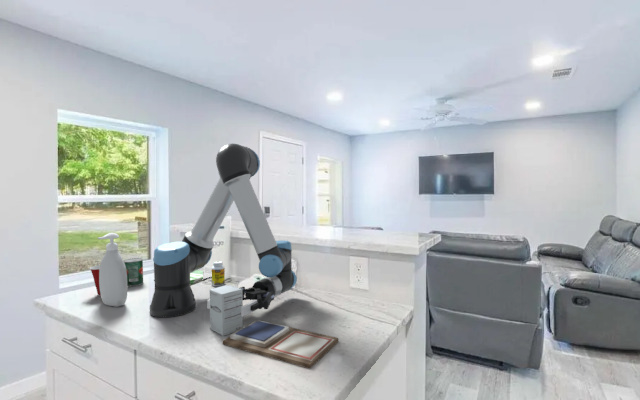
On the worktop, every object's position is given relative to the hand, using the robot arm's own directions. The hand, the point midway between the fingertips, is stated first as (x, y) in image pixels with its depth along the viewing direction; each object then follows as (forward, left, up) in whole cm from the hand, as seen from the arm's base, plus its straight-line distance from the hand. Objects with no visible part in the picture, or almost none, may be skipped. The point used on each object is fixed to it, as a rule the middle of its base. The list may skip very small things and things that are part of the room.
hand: (224, 308), depth 103 cm
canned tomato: (-74, +19, -7) cm, 76 cm away
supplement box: (-1, +1, -7) cm, 8 cm away
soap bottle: (-55, -2, -7) cm, 55 cm away
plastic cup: (-71, +5, -7) cm, 71 cm away
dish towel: (-58, +35, -8) cm, 68 cm away
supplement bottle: (-38, +35, -7) cm, 52 cm away
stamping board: (+19, +1, -7) cm, 21 cm away
